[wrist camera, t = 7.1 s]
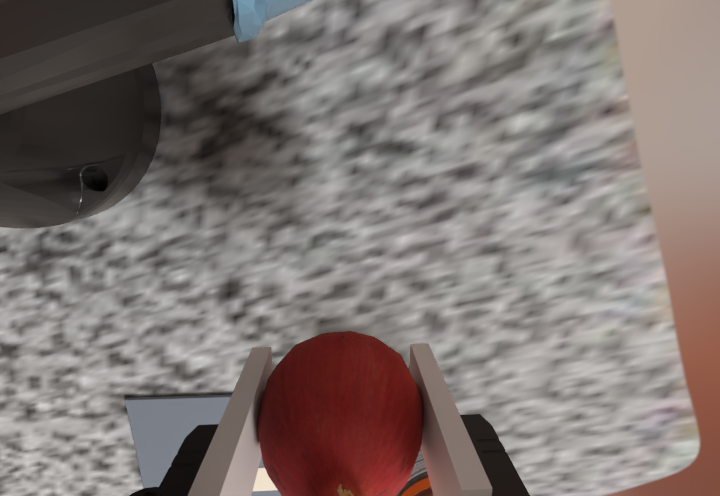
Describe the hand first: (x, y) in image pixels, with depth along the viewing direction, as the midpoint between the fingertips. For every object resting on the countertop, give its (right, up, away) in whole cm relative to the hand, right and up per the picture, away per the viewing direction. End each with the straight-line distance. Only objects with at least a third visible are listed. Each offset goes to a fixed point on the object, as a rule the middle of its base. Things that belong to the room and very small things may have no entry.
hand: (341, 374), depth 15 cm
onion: (0, 0, +2) cm, 2 cm away
